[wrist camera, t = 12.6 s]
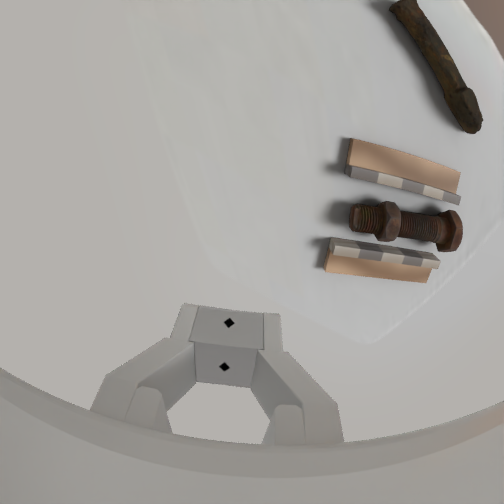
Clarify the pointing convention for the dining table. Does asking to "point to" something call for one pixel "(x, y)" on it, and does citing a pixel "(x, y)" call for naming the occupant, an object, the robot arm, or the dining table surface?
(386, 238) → the bolt
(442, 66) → the carved wooden phallus
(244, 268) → the dining table surface
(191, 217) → the dining table surface
